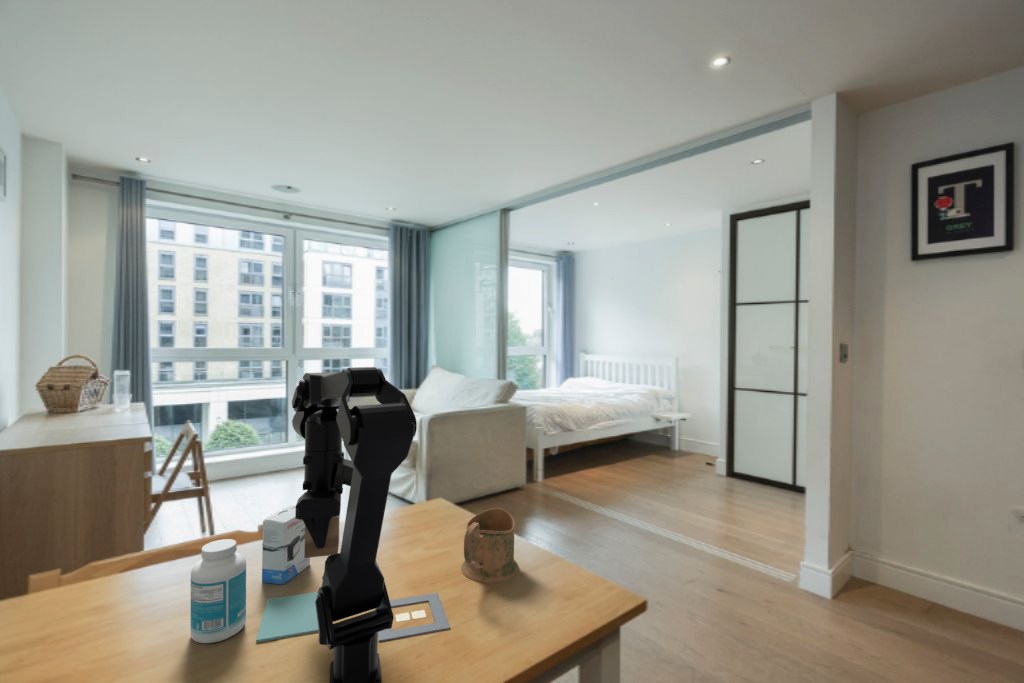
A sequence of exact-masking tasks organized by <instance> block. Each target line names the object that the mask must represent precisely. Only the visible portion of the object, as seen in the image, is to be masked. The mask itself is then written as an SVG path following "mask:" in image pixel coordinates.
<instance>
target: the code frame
mask: <svg viewBox="0 0 1024 683" xmlns="http://www.w3.org/2000/svg"><path fill="white" fill-rule="evenodd" d="M440 598H441V597H440V596H439V593H438V592H435V593H427V594H421V595H416V596H415V595H414V596H408V597H403V598H396V599H389V600H390V604H391V608H398V607H403V606H410V605H411V606H412V605H416V604H422V603H428V604H429V608H430V611H431V615H432V617H433V620H434V622H431V623H427V624H425V623H424V624H420V625H419V624H418V625H414V626H408V627H403V628H398V629H392V628H390V629H385V630H382V631H380V632H378V643H382V642H387V641H391V640H399V639H403V638H408V637H409V638H410V637H414V636H419V635H424V634H426V635H427V634H431V633H436V632H441V631H447V630H451V626H450V623H449V619H448V617H447V615H446V612H445V609H444V607H443V603H442V601H441V599H440ZM374 610H376V608H375V609H374ZM410 613H411V615H410ZM394 615H395V619H396V620H395V621H396V623H400V622H401V623H402V622H407V621H410V620H411V617H412V620H417V619H424V618H427V615H426V611H425V609H420V610H414V611H411V612H403V613H402V612H401V613H396V614H394ZM410 616H411V617H410Z"/></svg>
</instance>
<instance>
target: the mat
mask: <svg viewBox="0 0 1024 683" xmlns="http://www.w3.org/2000/svg"><path fill="white" fill-rule="evenodd" d="M317 595H318V591H314V592H308V593H300V594H293V595H288V596H279V597H273V598H267V601H266V604H265V608H264V612H263V615H262V618H261V621H260V622H261V623H260V625H259V629H258V633H257V636H256V638H255V644H256V643H263V642H267V641H274V640H279V639H284V638H289V637H297V636H302V635H308V634H313V633H319V628H318V620H317V613H316V605H315V601H316V599H317Z"/></svg>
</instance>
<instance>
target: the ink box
mask: <svg viewBox="0 0 1024 683" xmlns="http://www.w3.org/2000/svg"><path fill="white" fill-rule="evenodd" d="M295 514H296V505H289V506H286V507H285V508H283V509H281V510H279V511H276V512H274V513H273V514H270V515H269V516H267V517H265V518H264V519H263V520H262V544H261V545H262V554H261V555H262V558H261V559H262V560H261V561H262V563H261V582H262V583H266V584H274V585H275V584H276V585H286V584H287V583H288V582H289V581H290V580H292V579H293V578H294V577H296V576H297V575H299V574H300V573H301V572H302V571H304V570H305V569H306V568H308V567H309V566H310V565H311V557H310V558H304V554H305V524H304V522H303V520H302V519H300V520H299V519H295Z"/></svg>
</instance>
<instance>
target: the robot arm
mask: <svg viewBox="0 0 1024 683" xmlns="http://www.w3.org/2000/svg"><path fill="white" fill-rule="evenodd" d="M368 397H375V400H376V401H377V402H379V403H380V404H365V405H354V406H353V407H351V408H350V407H349V405H348V404H349V402H350V401H351V399H352V398H368ZM291 406H292V407H291V408H292V409H293V411H294V412H295V414H294V415H293V418H292V420H291V423H292V424H291V426H292V428H293V430H294V432H295V433H296V434H298V435H299V436H300V437H302V438H303V439H304V456H303V460H302V465H303V466H304V478H303V479H304V480H303V483H302V491H306V492H304V493H302V495H301V496H300V497H298V498H297V502H296V504H295V506H296V514H295V519H299V520H300V519H302V520H303V522H304V524H305V525H306V527H307V529H308V531H309V533H310V535H311V537H312V539H313V541H314V544H315V546H316V548H317V549H321V548H324V546H325V541H326V537H327V532H328V528H329V523H330V519H331V518H332V517H336V516H338V515H340V516H341V509H342V494H343V492H344V488H343V486H344V485H345V486H348V487H350V488H349V495H348V501H347V508H346V514H345V521H344V528H343V533H342V539H341V540H342V541H341V545H340V552H338V554H334V555H329V556H327V558H326V560H325V561H324V571H323V575H322V578H321V579H322V583H321V587H320V586H319V588H318V590H317V592H318V595H317V599H316V601H315V605H316V613H317V620H318V628H319V632H318V643H319V645H321V646H326V647H327V648H328V650H330V651H331V650H333V660H332V661H331V662H330V670H329V671H330V672H329V674H330V675H329V683H383V682H382V681H383V680H382V671H381V664H380V663H381V661H380V654H379V653H378V646H379V645H378V643H379V639H378V632H380V631H382V630H385V629H390V628H391V629H392V628H393V623H394V613H393V609H392V608H393V607H392V608H391V604H390V600H391V599H390V597H389V594H388V590H387V586H386V582H385V578H384V575H383V572H382V570H381V568H380V566H379V564H378V562H377V557H378V556H377V555H378V549H379V545H380V540H381V535H382V534H381V533H382V528H383V523H384V518H385V512H386V506H387V502H388V501H387V500H388V496H389V490H390V484H391V480H392V474H393V473H394V472H395V471H396V470H397V469H398V467H400V465H401V464H402V463H403V462H404V461H405V460H406V459H407V458H408V456H409V454H410V450H411V446H412V444H413V441H414V437H416V434H417V430H418V428H417V427H418V426H417V425H418V423H417V419H416V414H415V412H414V411H413V409H412V406H411V404H410V402H409V400H408V398H407V396H406V394H405V393H404V392H403V391H401V389H399V388H397V386H394V385H393V384H392V383H391V382H389V381H388V380H387V379H386V377H385V375H384V373H383V371H382V370H381V368H377V367H376V366H371V367H370V366H364V367H362V366H361V367H347V368H346V369H342V370H341V371H331V372H330V371H329V372H305V373H304V374H303V376H302V379H299V381H298V384H297V386H296V387H295V390H294V393H293V397H292V400H291ZM342 445H343V446H344V449H345V450H346V452H347V454H348V457H349V458H350V459H346V458H345V451H343V446H342ZM375 608H376V610H375ZM368 611H369V612H368ZM362 613H363V614H362ZM359 614H360V615H359ZM337 621H338V622H337Z"/></svg>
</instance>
